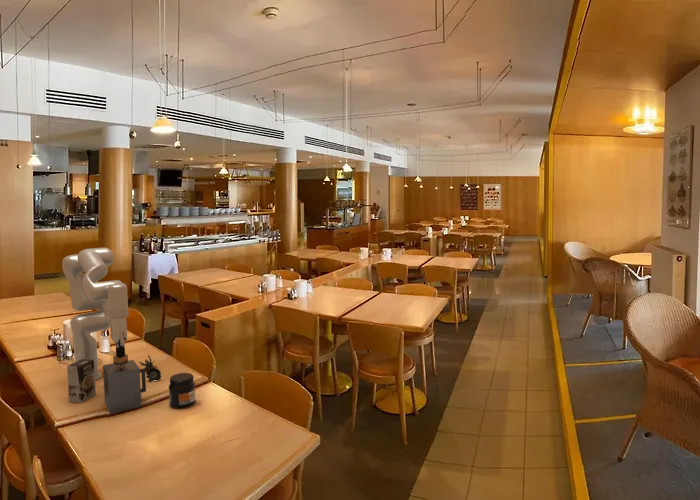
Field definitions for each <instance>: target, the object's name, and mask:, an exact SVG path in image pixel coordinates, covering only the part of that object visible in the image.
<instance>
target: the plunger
mask: <svg viewBox="0 0 700 500" xmlns="http://www.w3.org/2000/svg"><path fill="white" fill-rule="evenodd" d="M112 358H113V359H112V361H113V362H112V364H114V365H119V366H120V368H122V367H123V365H124V364H127V363H128V361H129V355H128V354H126V353H125V356H124V357H117V356H116V354H115V355H113V357H112Z"/></svg>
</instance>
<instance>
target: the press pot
mask: <svg viewBox="0 0 700 500" xmlns="http://www.w3.org/2000/svg"><path fill="white" fill-rule="evenodd" d="M144 368H145V367H143V368H140V367H139V365H138V364H137V363H136V361H135V360H134V359H132V360H131V359H130V360H128V363H127V364H124V365H123V367H122V368H120V366H119V365H114V364H113V363H108V364H103V365H102V377H103V378H102V379H103V389H104V391H103V392H104V404H106V405H105V407H106V406H107V407H106V409H107V408H108V409H107V410H109V411H108V413H109V414H110V415H112V414H116V413H119V412H123V411H124V412H125V411H128V410H133V409H137V408H142V394H143V393H146V392H147V386H146V385H147V384H146V368H145V369H144Z"/></svg>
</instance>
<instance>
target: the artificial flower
mask: <svg viewBox="0 0 700 500" xmlns="http://www.w3.org/2000/svg"><path fill="white" fill-rule="evenodd" d="M147 358H148V359H149V360H148V359H145V358H144V362H145V363H144V362H142V361H138V363H139V364H140V365H141V366H142V367H143V366H144V367H143V368H144V369H145V370H146V368H147V369H148V370H147V372H145V378H146V379H148V382H150V383H152V382H151V381H153V380H158V381H159V380H161V378H162V376H161V374H162V372H161V370H160V369H158V368H155V367H154V364H153V363H154V362H156V360H157V359H154V360H153V361H152V358H151V356H150V354H149V355H147ZM153 382H154V381H153Z"/></svg>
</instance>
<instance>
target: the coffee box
mask: <svg viewBox="0 0 700 500" xmlns="http://www.w3.org/2000/svg"><path fill="white" fill-rule="evenodd" d="M66 368H67V370H66V371H67V385H68V386H67V389H68V390H67V391H68V402H70V403H71V402H72V403H79V404H82V403H84V402H85V401H87V400H88V399H91V398H93V397H94V396H95V395H96V380H95V373H94V360H89V359H81V360H79V361H77V362H75V361H74V362H73V363H70V364H68V365H67V367H66Z"/></svg>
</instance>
